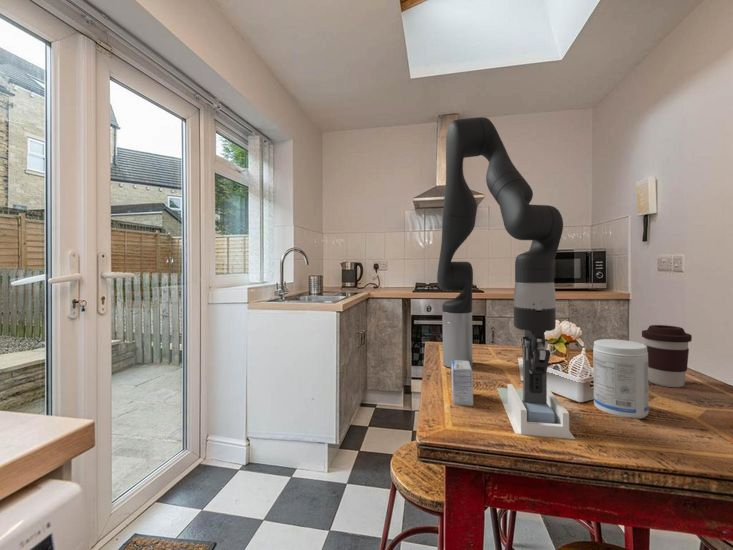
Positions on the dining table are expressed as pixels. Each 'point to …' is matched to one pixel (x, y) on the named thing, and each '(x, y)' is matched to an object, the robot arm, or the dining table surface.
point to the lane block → (536, 399)
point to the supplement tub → (621, 377)
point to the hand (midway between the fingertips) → (534, 390)
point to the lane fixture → (521, 426)
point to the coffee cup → (667, 354)
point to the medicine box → (462, 383)
